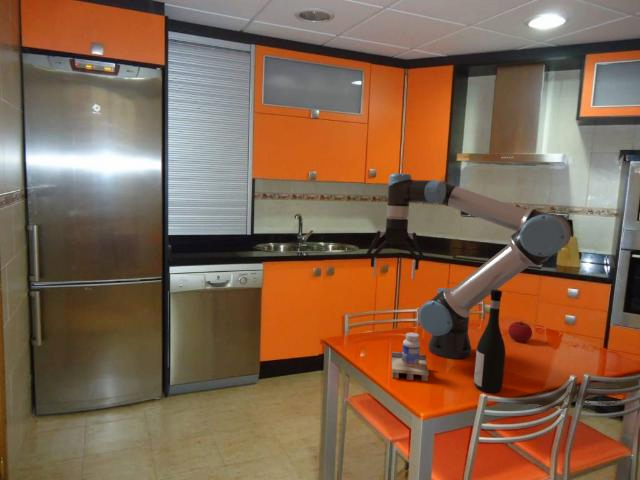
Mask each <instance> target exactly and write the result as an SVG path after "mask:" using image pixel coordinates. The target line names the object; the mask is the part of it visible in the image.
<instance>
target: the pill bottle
mask: <svg viewBox="0 0 640 480" xmlns="http://www.w3.org/2000/svg"><path fill="white" fill-rule="evenodd" d="M420 352H421V342H420V336H419V334H418V333H415V332H407V333H406V334H405V339H404V340H403V342H402V352H401V353H402V364H403V365H405V366H410V367H416V366H418V364H419V354H421V353H420Z"/></svg>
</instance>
